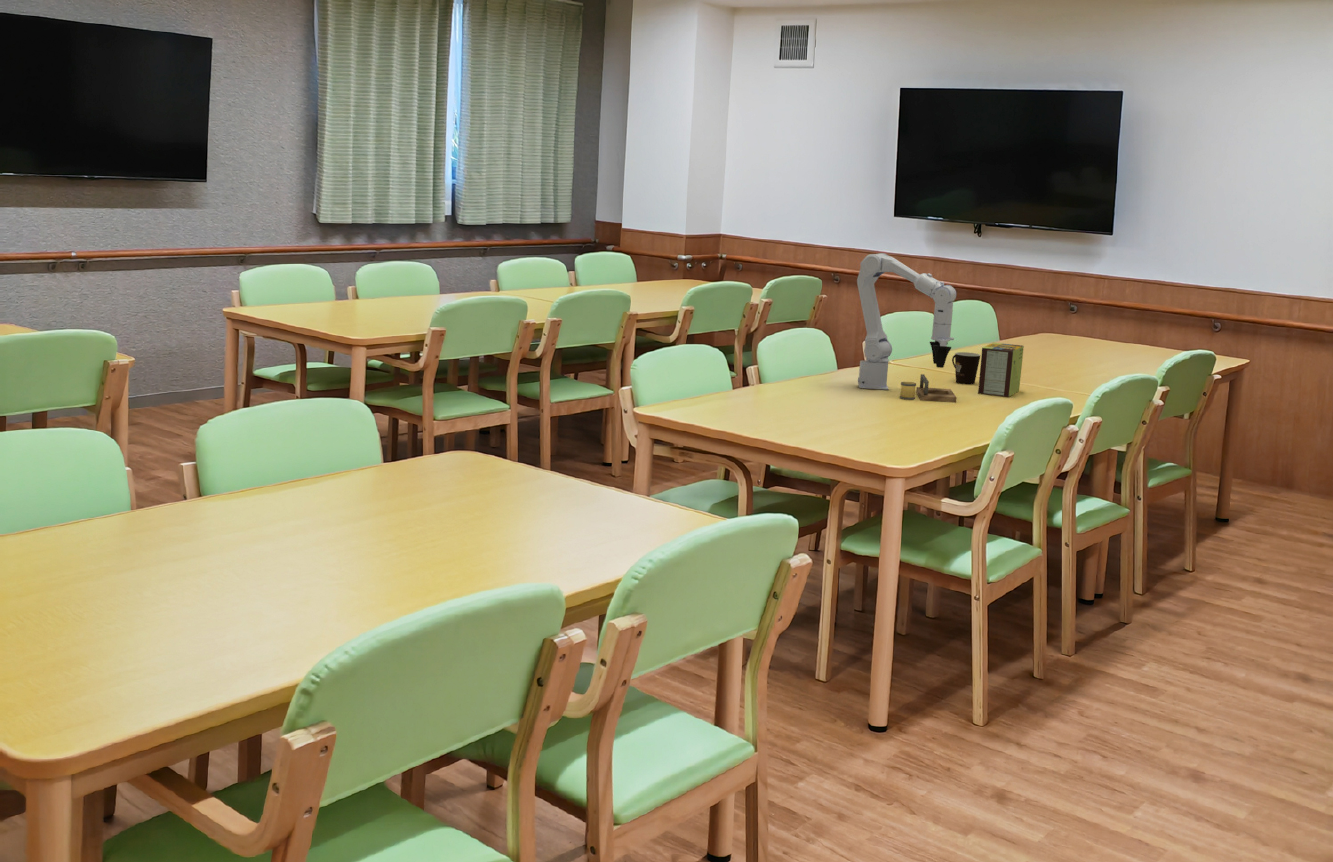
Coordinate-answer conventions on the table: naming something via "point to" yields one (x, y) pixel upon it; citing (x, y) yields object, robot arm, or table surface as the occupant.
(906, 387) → the cord reel
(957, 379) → the coffee mug
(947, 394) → the brown piece
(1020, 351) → the protein box
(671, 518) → the table surface
